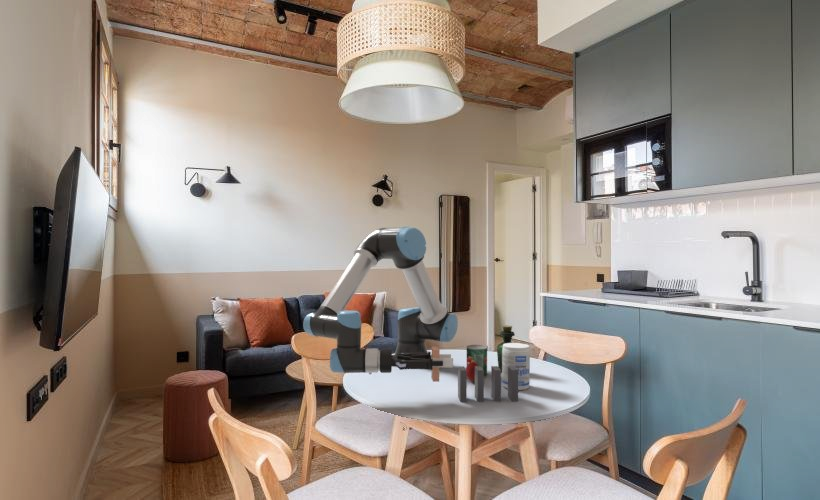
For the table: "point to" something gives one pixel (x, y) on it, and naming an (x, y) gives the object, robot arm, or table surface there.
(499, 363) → the potion bottle
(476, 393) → the domino
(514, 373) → the domino
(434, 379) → the orange domino
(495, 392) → the domino
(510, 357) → the supplement tub
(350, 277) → the robot arm
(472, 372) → the onion
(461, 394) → the domino
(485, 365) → the canned tomato
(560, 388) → the table surface
